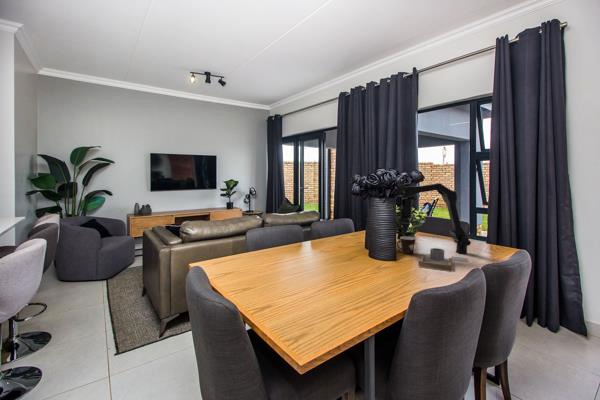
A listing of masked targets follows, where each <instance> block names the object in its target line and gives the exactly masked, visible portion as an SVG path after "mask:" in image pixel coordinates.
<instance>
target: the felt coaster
mask: <svg viewBox="0 0 600 400" xmlns="http://www.w3.org/2000/svg"><path fill="white" fill-rule="evenodd" d="M450 258H452V261H454V262H463V263H468V261H469V260H468V258H467V257H461V256H451V257H450Z"/></svg>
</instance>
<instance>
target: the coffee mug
mask: <svg viewBox="0 0 600 400" xmlns="http://www.w3.org/2000/svg"><path fill="white" fill-rule="evenodd" d="M416 239H417V238H416V237H413V236H400V240H398V241H397V243H396V247H397V248H398V249H400V250H401V254H403V255H411V256H412V255H414V252H415V245H416ZM399 243H400V246H399Z"/></svg>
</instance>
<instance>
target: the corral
mask: <svg viewBox="0 0 600 400" xmlns="http://www.w3.org/2000/svg"><path fill="white" fill-rule="evenodd" d="M425 259H426V255H425V254H421V256H420V259H419V260H418V267H419V268H421V269H424V268H426V269H428V270H431V269H433V270H435V271H438V270H440V272H443V271H444V272H445V271H447V272H448V273H451V272H452V265H453V264H452V263H453V260H452V258H451V257H448V261H447V264H444V263H437V262H436V263H435V262H430V261H425Z"/></svg>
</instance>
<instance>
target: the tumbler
mask: <svg viewBox="0 0 600 400" xmlns="http://www.w3.org/2000/svg"><path fill="white" fill-rule="evenodd" d="M429 253H430V254H429V256H430V257H429V258H430V260H432V261H436V262H437V261H438V262H443V261H444V260H445V249H443V248H439V247H438V248H437V247H434V248H433V247H432V248H430V252H429Z"/></svg>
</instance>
